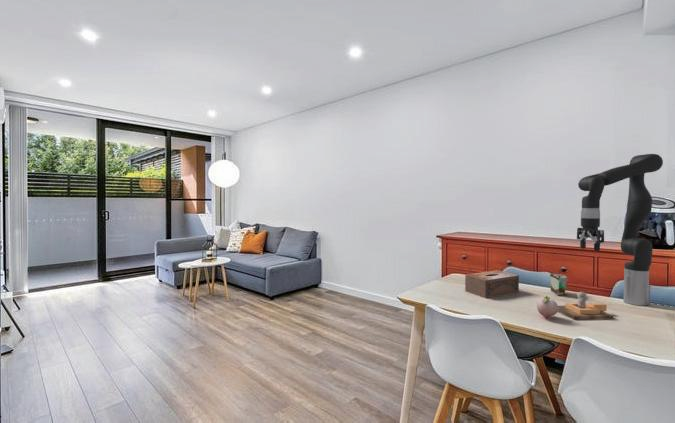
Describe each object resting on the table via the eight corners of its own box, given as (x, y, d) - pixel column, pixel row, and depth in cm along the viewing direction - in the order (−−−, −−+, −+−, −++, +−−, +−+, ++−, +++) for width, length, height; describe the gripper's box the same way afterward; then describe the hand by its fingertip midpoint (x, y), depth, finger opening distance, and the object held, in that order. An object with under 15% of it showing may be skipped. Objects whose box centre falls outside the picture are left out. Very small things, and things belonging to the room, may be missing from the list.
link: (596, 306, 157) (596, 300, 157) (612, 313, 148) (612, 307, 148) (565, 307, 157) (565, 301, 157) (580, 314, 148) (580, 307, 148)
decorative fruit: (558, 322, 142) (558, 300, 142) (536, 319, 146) (536, 297, 146) (557, 316, 150) (558, 294, 150) (536, 312, 154) (537, 292, 154)
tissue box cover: (485, 298, 177) (485, 280, 177) (465, 291, 191) (465, 274, 190) (518, 292, 187) (518, 275, 187) (497, 286, 201) (497, 270, 200)
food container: (572, 297, 177) (572, 278, 177) (559, 296, 178) (559, 278, 178) (561, 290, 189) (561, 273, 189) (549, 290, 190) (549, 273, 190)
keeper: (588, 308, 160) (589, 287, 159) (613, 318, 146) (614, 296, 145) (552, 308, 159) (552, 288, 159) (573, 319, 145) (574, 296, 145)
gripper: (610, 218, 155) (609, 252, 155) (586, 216, 169) (585, 247, 170) (594, 218, 155) (593, 252, 155) (572, 216, 169) (571, 247, 170)
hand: (589, 249), depth 162 cm, fingers open, 8 cm apart
